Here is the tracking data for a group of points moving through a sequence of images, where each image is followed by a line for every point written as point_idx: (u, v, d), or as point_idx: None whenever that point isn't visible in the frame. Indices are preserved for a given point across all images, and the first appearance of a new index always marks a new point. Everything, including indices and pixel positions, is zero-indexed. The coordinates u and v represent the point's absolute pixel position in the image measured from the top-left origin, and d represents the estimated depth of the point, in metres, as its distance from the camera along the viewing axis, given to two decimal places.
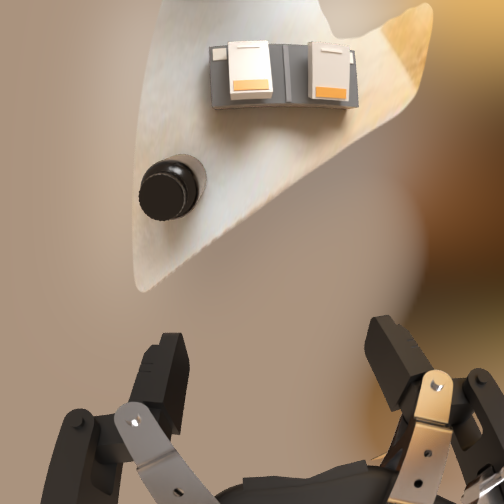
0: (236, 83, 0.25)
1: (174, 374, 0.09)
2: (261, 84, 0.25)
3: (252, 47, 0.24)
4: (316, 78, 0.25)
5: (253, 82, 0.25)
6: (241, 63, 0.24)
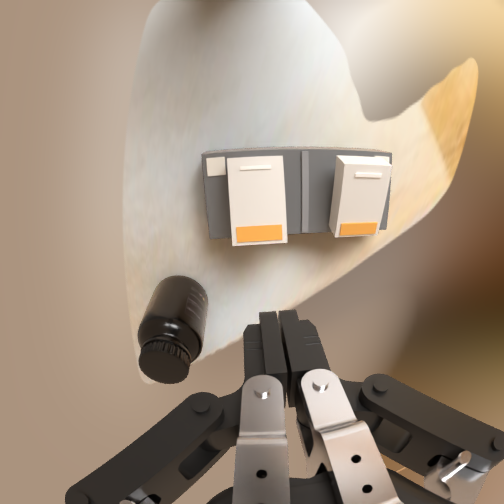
0: (240, 230, 0.22)
1: None
2: (273, 233, 0.22)
3: (261, 168, 0.21)
4: (343, 213, 0.23)
5: (262, 228, 0.22)
6: (246, 196, 0.21)
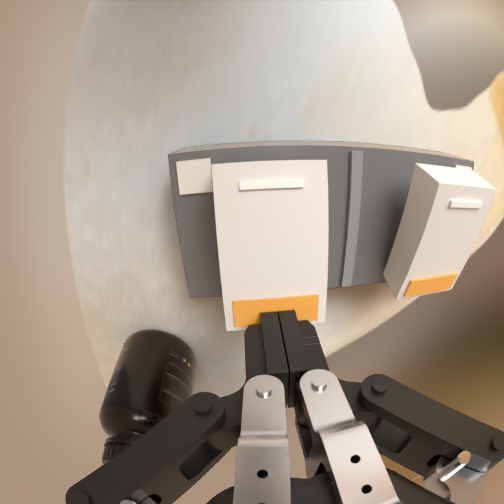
0: (240, 305, 0.11)
1: None
2: (301, 310, 0.11)
3: (284, 185, 0.10)
4: (417, 265, 0.12)
5: (282, 302, 0.12)
6: (251, 244, 0.11)
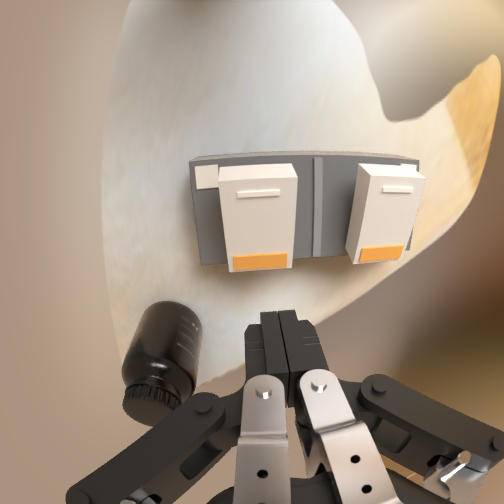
0: (238, 258, 0.19)
1: None
2: (276, 261, 0.19)
3: (267, 193, 0.16)
4: (365, 236, 0.18)
5: (264, 256, 0.19)
6: (245, 226, 0.17)
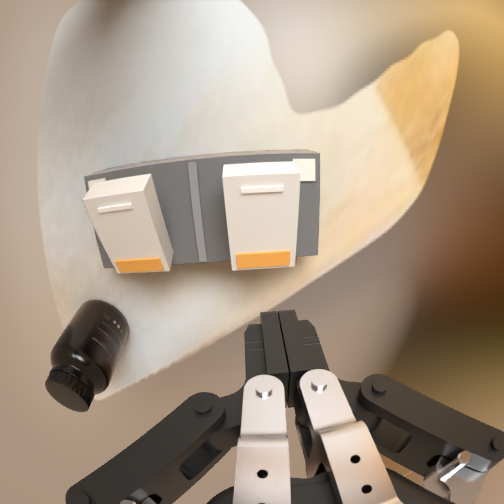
0: (120, 262, 0.19)
1: None
2: (152, 265, 0.19)
3: (122, 207, 0.15)
4: (236, 241, 0.18)
5: (140, 261, 0.19)
6: (114, 235, 0.17)
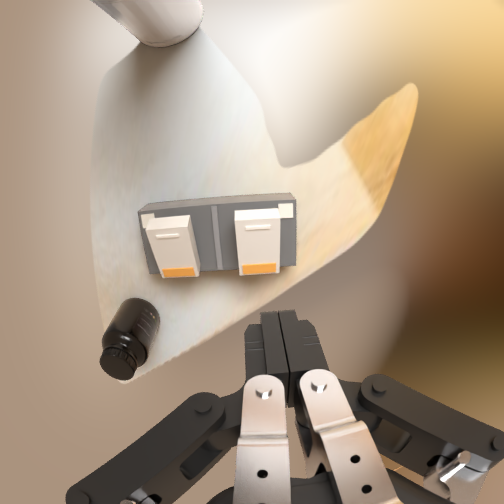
0: (165, 270, 0.30)
1: None
2: (187, 272, 0.30)
3: (172, 235, 0.27)
4: (242, 257, 0.29)
5: (180, 269, 0.30)
6: (165, 252, 0.28)
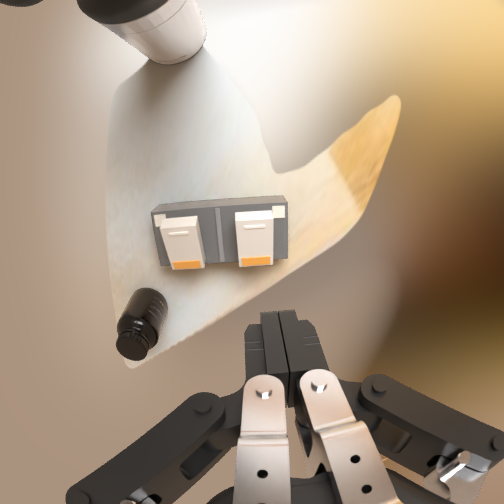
0: (175, 263, 0.35)
1: None
2: (194, 264, 0.36)
3: (183, 233, 0.32)
4: (241, 251, 0.35)
5: (188, 262, 0.35)
6: (175, 247, 0.34)
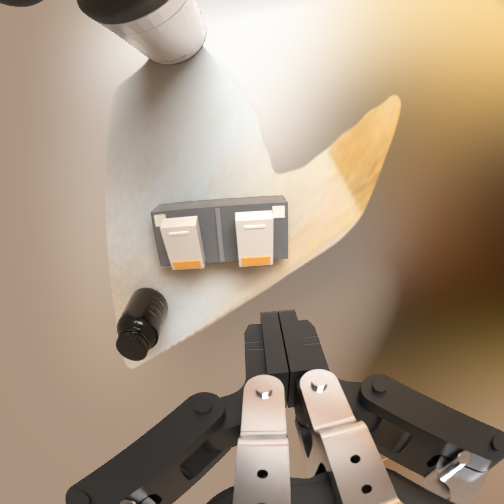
0: (175, 263, 0.35)
1: None
2: (194, 264, 0.36)
3: (183, 232, 0.32)
4: (241, 251, 0.35)
5: (188, 262, 0.35)
6: (175, 247, 0.34)
